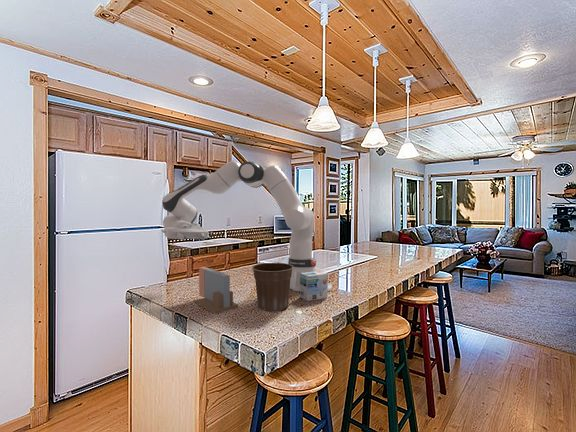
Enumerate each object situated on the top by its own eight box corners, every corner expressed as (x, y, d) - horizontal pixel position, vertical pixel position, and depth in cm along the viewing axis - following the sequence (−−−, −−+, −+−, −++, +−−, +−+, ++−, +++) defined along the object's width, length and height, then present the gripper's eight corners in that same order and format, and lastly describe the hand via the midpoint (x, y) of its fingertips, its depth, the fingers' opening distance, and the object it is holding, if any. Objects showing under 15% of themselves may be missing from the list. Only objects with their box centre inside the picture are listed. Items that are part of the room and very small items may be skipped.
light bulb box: (307, 301, 137) (307, 276, 136) (299, 297, 143) (299, 272, 142) (328, 298, 142) (328, 273, 141) (319, 294, 147) (319, 270, 147)
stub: (199, 295, 140) (198, 267, 139) (204, 294, 141) (204, 266, 141) (204, 297, 136) (204, 269, 135) (209, 296, 137) (209, 268, 137)
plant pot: (259, 316, 119) (259, 272, 118) (247, 303, 134) (247, 264, 133) (299, 310, 125) (300, 268, 125) (283, 298, 140) (283, 261, 139)
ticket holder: (196, 303, 133) (196, 270, 133) (218, 298, 140) (218, 267, 139) (215, 313, 121) (214, 277, 120) (238, 308, 128) (238, 273, 127)
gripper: (161, 223, 151) (172, 231, 141) (201, 224, 165) (214, 231, 155) (159, 236, 152) (171, 245, 142) (199, 236, 166) (212, 244, 156)
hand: (194, 237), depth 149 cm, fingers open, 8 cm apart
